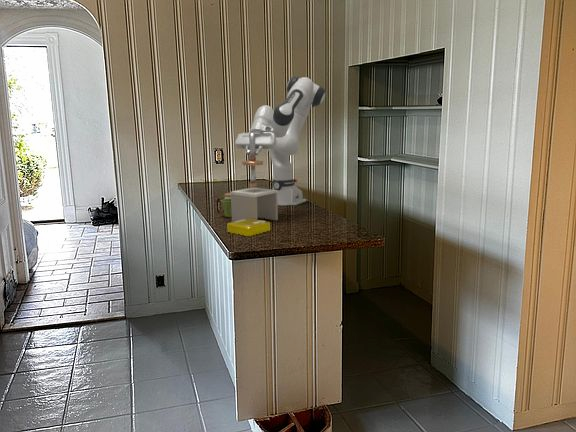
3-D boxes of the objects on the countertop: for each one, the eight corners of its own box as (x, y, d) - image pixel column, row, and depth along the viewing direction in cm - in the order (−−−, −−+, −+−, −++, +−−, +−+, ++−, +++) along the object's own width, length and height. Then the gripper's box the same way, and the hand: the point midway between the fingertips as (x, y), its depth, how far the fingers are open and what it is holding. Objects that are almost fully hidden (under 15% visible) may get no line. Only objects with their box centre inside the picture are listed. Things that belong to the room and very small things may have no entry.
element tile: (248, 226, 247) (248, 216, 246) (272, 231, 237) (272, 221, 236) (225, 232, 236) (225, 222, 235) (249, 237, 226) (248, 227, 225)
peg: (257, 185, 260) (257, 132, 255) (267, 187, 251) (266, 132, 246) (239, 186, 255) (238, 132, 250) (248, 189, 246) (247, 133, 241)
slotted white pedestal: (254, 216, 268) (253, 187, 265) (277, 219, 258) (277, 190, 255) (231, 221, 256) (230, 191, 253) (256, 226, 246) (255, 194, 243)
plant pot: (222, 218, 263) (222, 201, 261) (220, 215, 272) (219, 198, 270) (241, 217, 266) (240, 200, 264) (237, 214, 274) (237, 197, 273)
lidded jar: (240, 209, 287) (240, 192, 285) (222, 208, 289) (221, 192, 287) (246, 205, 297) (245, 189, 295) (228, 205, 299) (227, 189, 297)
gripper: (237, 128, 257) (230, 149, 250) (276, 128, 251) (270, 150, 244) (241, 136, 262) (234, 158, 255) (279, 137, 256) (273, 158, 249)
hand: (252, 154), depth 250 cm, fingers closed on peg, 3 cm apart
